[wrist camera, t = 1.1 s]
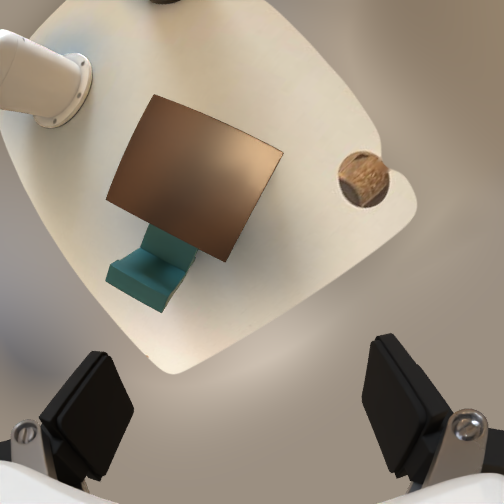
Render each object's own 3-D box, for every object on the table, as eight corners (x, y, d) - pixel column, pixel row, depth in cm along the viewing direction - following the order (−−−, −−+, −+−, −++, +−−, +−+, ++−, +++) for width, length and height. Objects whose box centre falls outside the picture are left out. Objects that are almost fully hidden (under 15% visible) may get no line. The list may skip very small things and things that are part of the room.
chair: (192, 267, 35) (161, 313, 23) (153, 246, 35) (104, 281, 22) (221, 208, 33) (200, 226, 21) (178, 187, 33) (135, 193, 20)
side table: (152, 191, 33) (105, 199, 21) (187, 120, 31) (153, 93, 19) (235, 234, 34) (225, 263, 23) (274, 162, 32) (284, 152, 20)
